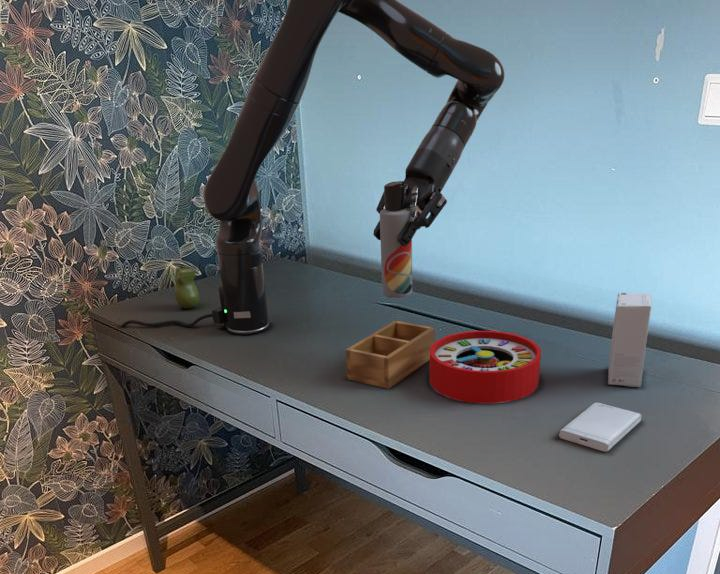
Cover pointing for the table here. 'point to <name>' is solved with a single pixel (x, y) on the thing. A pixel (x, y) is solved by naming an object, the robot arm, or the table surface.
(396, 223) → the lotion bottle
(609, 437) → the hard drive
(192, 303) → the pear
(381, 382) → the wooden organizer box
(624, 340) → the cosmetic box
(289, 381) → the table surface
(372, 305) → the table surface
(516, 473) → the table surface
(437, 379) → the toy clock
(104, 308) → the table surface
